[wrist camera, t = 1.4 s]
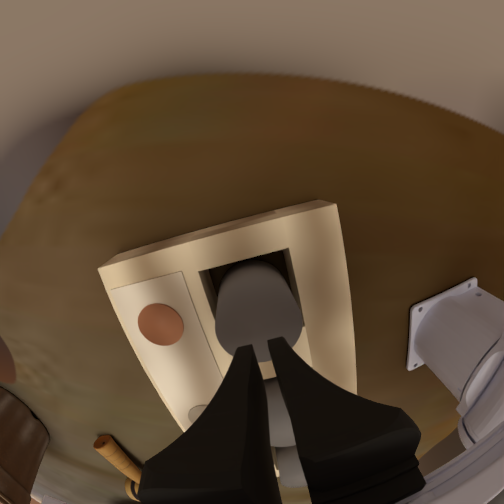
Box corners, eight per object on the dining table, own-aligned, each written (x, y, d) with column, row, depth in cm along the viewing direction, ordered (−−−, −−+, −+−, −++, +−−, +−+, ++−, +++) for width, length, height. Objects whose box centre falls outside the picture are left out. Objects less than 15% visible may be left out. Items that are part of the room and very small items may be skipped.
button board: (318, 199, 19) (338, 204, 15) (347, 433, 26) (356, 457, 22) (117, 254, 19) (94, 270, 15) (224, 461, 26) (225, 486, 22)
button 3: (315, 427, 22) (326, 462, 18) (319, 448, 23) (328, 479, 19) (270, 438, 22) (276, 474, 18) (279, 458, 23) (284, 490, 19)
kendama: (87, 430, 26) (163, 501, 28) (73, 458, 20) (161, 528, 22) (128, 418, 27) (203, 492, 29) (118, 450, 21) (205, 521, 23)
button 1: (279, 252, 17) (293, 277, 13) (292, 312, 18) (308, 350, 14) (210, 270, 17) (203, 300, 13) (229, 329, 18) (229, 369, 14)
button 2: (302, 363, 20) (317, 403, 15) (310, 399, 21) (323, 437, 16) (246, 377, 20) (250, 419, 15) (260, 411, 21) (265, 451, 16)
